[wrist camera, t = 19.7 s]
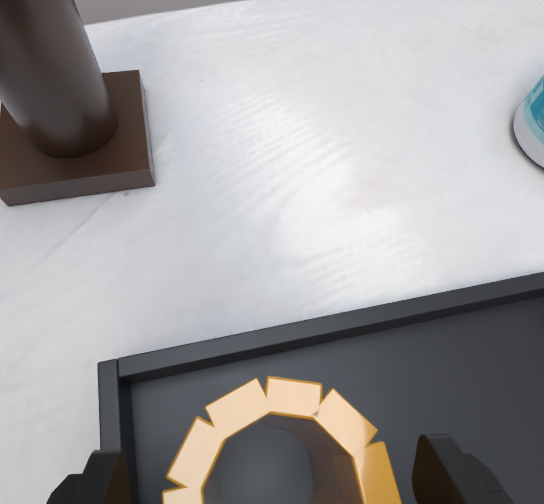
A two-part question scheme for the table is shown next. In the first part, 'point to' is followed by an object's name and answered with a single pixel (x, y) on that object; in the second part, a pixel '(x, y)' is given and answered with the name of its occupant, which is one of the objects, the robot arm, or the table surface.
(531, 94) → the pill bottle
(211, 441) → the golden brown grooved sleeve
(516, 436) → the tray
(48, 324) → the table surface
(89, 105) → the stand
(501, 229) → the table surface
